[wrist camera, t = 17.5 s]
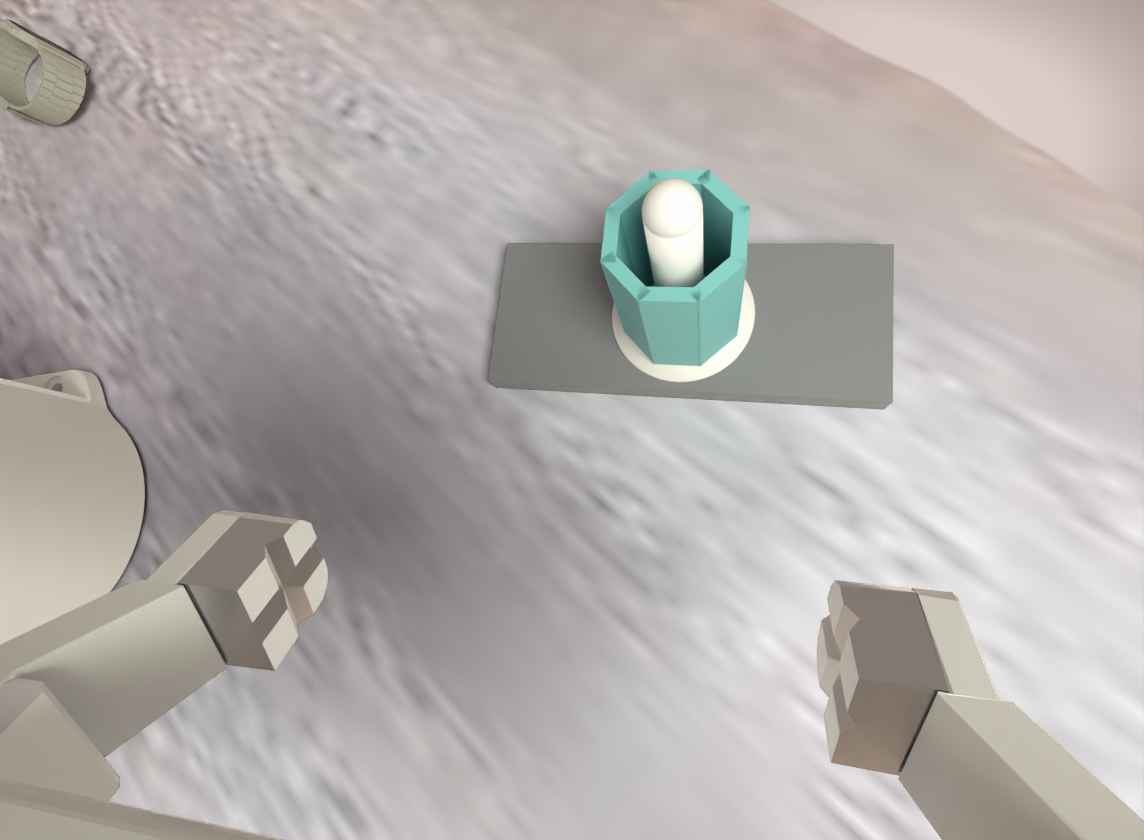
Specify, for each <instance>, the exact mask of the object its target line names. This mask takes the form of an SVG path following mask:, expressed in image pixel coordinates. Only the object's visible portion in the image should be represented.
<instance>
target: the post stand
mask: <svg viewBox="0 0 1144 840" xmlns="http://www.w3.org/2000/svg"><path fill="white" fill-rule="evenodd" d="M642 219H643V225H644V230H645V236H646V241H647V247H648V252H649V258H650V263H651V269H652V274H653V280H654V284H653V285H652V286H651V287H695V286H696V285H697V284H698V283H699V282H701V281H702V280H703V279H704V278H705V277H706V276H705V275H704V270H703V203H702V199H701V196H700V194H699V192H698V191H697V189H696V188H695V187H694V186H693V185H692V184H690V183H689V182H687V181H685V180H682V179H677V178H672V179H666V180H663V181H661V182H659V183H657V184H656V185H654V186H653V187H652V188H651V189H650V190H649V191H648V193H647V194H646V196H645V199H644V201H643V205H642ZM601 252H602V244H554V243H507V249H506V256H505V263H504V270H503V277H502V284H501V291H500V298H499V305H498V312H497V319H496V326H495V333H494V340H493V347H492V354H491V361H490V368H489V375H488V381H489V382H491V383H492V384H493V385H494V386H495V387H496V388H511V389H529V390H547V391H565V392H583V393H601V394H618V395H636V396H654V397H672V398H690V399H708V400H725V401H743V402H761V403H779V404H797V405H815V406H833V407H850V408H868V409H885V408H886V407H887V406H888V405H889V404H891V403H892V402H893V278H894V244H748V245H747V268H746V275H745V283H744V290H743V297H742V305H741V312H740V319H739V327H738V334H737V337H735V338H734V339H733V340H732V341H731V342H729V343H728V344H727V345H726V346H725V347H723V348H722V349H721V350H720V351H719V352H717V353H716V354H715V355H714V356H713V357H711V358H710V359H709V360H708V361H707V362H705V363H704V364H703V365H702V366H701V367H700V366H682V365H659V364H655V365H654V364H653V362H652V361H651V360H650V359H649V358H648V357H647V356H646V355H645V354H644V353H643V352H642V350H641V349H640V348H639V347H638V346H637V345H636V344H635V343H634V342H633V341H632V340H631V339H630V337H629V336H628V335H627V334H626V333H625V332H624V329H623V326H622V323H621V320H620V317H619V315H618V312H617V309H616V306H615V303H614V300H613V297H612V294H611V291H610V289H609V286H608V283H607V280H606V277H605V274H604V271H603V268H602V265H601V263H600V260H601Z"/></svg>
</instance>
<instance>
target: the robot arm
mask: <svg viewBox="0 0 1144 840" xmlns="http://www.w3.org/2000/svg"><path fill="white" fill-rule="evenodd" d="M144 503H145V485H144V476H143V470H142V465H141V461H140V458H139V455H138V452H137V450H136V448H135V446H134V444H133V442H132V440H131V438H130V437H129V435H128V434H127V432H126V431H125V430H124V428H123V427H122V426H121V425H120V424H119V423H118V422H117V421H116V420H115V419H114V417H113V416H112V415H111V413H110V412H109V410H108V409H107V406H106V401H105V398H104V394H103V390H102V387H101V384H100V382H99V380H98V378H97V377H96V376H95V375H94V374H93V373H91V372H85V371H80V370H66V371H60V372H54V373H48V374H42V375H36V376H31V377H25V378H19V379H13V380H7V379H2V378H0V840H283V839H278V838H274V837H269V836H265V835H260V834H256V833H251V832H246V831H242V830H237V829H233V828H228V827H224V826H219V825H215V824H210V823H205V822H201V821H196V820H192V819H187V818H183V817H178V816H174V815H169V814H164V813H160V812H155V811H151V810H146V809H142V808H137V807H133V806H128V805H123V804H119V803H114V802H110V801H109V800H110V799H111V798H112V796H113V795H114V794H115V792H116V791H117V790H118V788H119V787H120V777H119V775H118V774H117V773H116V772H115V770H114V769H113V768H112V767H111V765H110V764H109V763H108V762H107V760H106V759H105V758H104V757H106V756H107V755H109V754H110V753H111V752H113V751H114V750H115V749H117V748H118V747H119V746H121V745H122V744H123V743H125V742H126V741H128V740H129V739H130V738H132V737H133V736H134V735H136V734H137V733H138V732H140V731H141V730H143V729H144V728H145V727H147V726H148V725H149V724H151V723H152V722H153V721H155V720H156V719H158V718H159V717H160V716H162V715H163V714H164V713H166V712H167V711H168V710H170V709H171V708H173V707H174V706H175V705H177V704H178V703H179V702H181V701H182V700H183V699H185V698H186V697H188V696H189V695H190V694H192V693H193V692H194V691H196V690H197V689H198V688H200V687H201V686H202V685H204V684H205V683H207V682H208V681H209V680H211V679H212V678H213V677H215V676H216V675H217V674H219V673H220V672H222V671H223V670H224V669H226V668H227V666H226V665H234V666H242V667H249V668H257V669H264V670H272V671H275V670H276V669H277V667H278V666H279V664H280V663H281V661H282V660H283V659H284V657H285V656H286V654H287V653H288V651H289V650H290V648H291V647H292V645H293V644H294V642H295V641H296V639H297V638H298V636H299V634H298V623H300V622H301V621H303V620H304V619H306V618H308V617H309V616H311V615H312V614H314V612H315V611H316V609H317V608H318V606H319V605H320V603H321V601H322V600H323V597H324V594H325V590H326V587H327V584H328V568H327V565H326V562H325V559H324V557H323V556H322V555H321V554H319V553H318V552H317V551H316V550H315V549H314V548H313V547H312V546H313V544H314V542H315V541H316V539H317V537H316V534H315V532H314V529H313V527H312V525H311V523H309V522H306V521H303V520H298V519H291V518H284V517H277V516H270V515H263V514H256V513H245V512H238V511H231V510H222V511H219V512H216V513H214V514H212V515H211V516H210V517H209V518H208V519H207V520H206V521H205V522H204V523H203V524H202V525H201V526H200V527H199V528H198V529H197V530H196V531H195V532H194V533H193V534H192V535H191V536H190V537H189V538H188V539H187V540H186V541H185V542H184V543H183V544H182V545H181V546H180V547H179V548H178V549H177V550H176V551H175V552H174V553H173V554H172V555H171V556H170V557H169V558H168V559H167V560H166V561H165V562H164V563H163V564H162V565H161V566H160V567H159V568H158V569H157V570H156V571H155V572H154V573H153V574H152V575H150V576H149V577H148V578H147V579H146V580H141V579H137V580H135V581H133V582H130V583H128V584H126V585H124V586H122V587H120V588H118V589H116V590H114V591H112V592H110V591H111V590H112V589H113V587H114V586H115V584H116V583H117V582H118V580H119V578H120V577H121V575H122V573H123V572H124V570H125V568H126V566H127V564H128V562H129V560H130V558H131V556H132V553H133V551H134V548H135V545H136V542H137V540H138V536H139V533H140V529H141V524H142V519H143V513H144ZM827 600H828V606H829V612H830V615H829V616H827V617H826V618H824V619H823V620H822V621H821V626H820V630H819V635H818V645H817V669H818V678H819V685H820V688H821V689H822V690H823V691H824V692H825V694H826V695H827V696H828V697H829V700H828V703H827V707H826V710H825V714H824V721H825V727H826V734H827V741H828V747H829V754H830V761H831V763H836V764H841V765H846V766H851V767H857V768H862V769H867V770H872V771H878V772H883V773H888V774H893V775H899V778H898V779H899V780H900V782H901V783H902V785H903V786H904V787H905V789H906V790H907V792H908V793H909V794H910V796H911V797H912V799H913V800H914V801H915V803H916V804H917V806H918V807H919V808H920V810H921V811H922V812H923V814H924V815H925V817H926V818H927V819H928V821H929V822H930V824H931V825H932V826H933V828H934V829H935V831H936V832H937V833H938V835H939V836H940V838H941V839H942V840H1144V821H1143V820H1142V819H1141V818H1140V817H1139V816H1138V815H1137V814H1136V813H1135V812H1133V811H1132V810H1131V809H1130V808H1129V807H1128V806H1127V805H1126V804H1125V803H1124V802H1122V801H1121V800H1120V799H1119V798H1118V797H1117V796H1116V795H1115V794H1114V793H1112V792H1111V791H1110V790H1109V789H1108V788H1107V787H1106V786H1105V785H1104V784H1103V783H1101V782H1100V781H1099V780H1098V779H1097V778H1096V777H1095V776H1094V775H1093V774H1091V773H1090V772H1089V771H1088V770H1087V769H1086V768H1085V767H1084V766H1083V765H1082V764H1080V763H1079V762H1078V761H1077V760H1076V759H1075V758H1074V757H1073V756H1072V755H1070V754H1069V753H1068V752H1067V751H1066V750H1065V749H1064V748H1063V747H1062V746H1060V745H1059V744H1058V743H1057V742H1056V741H1055V740H1054V739H1053V738H1052V737H1051V736H1049V735H1048V734H1047V733H1046V732H1045V731H1044V730H1043V729H1042V728H1041V727H1039V726H1038V725H1037V724H1036V723H1035V722H1034V721H1033V720H1032V719H1031V718H1030V717H1028V716H1027V715H1026V714H1025V713H1024V712H1023V711H1022V710H1021V709H1020V708H1018V707H1017V706H1016V705H1015V704H1014V703H1012V702H1007V701H1001V700H999V697H998V695H997V692H996V690H995V687H994V685H993V682H992V680H991V678H990V675H989V673H988V670H987V668H986V665H985V663H984V660H983V658H982V655H981V653H980V650H979V648H978V645H977V643H976V641H975V638H974V636H973V633H972V631H971V628H970V626H969V623H968V621H967V618H966V616H965V613H964V611H963V608H962V606H961V604H960V601H959V599H958V598H957V597H956V596H955V595H954V594H953V593H952V592H943V591H933V590H923V589H914V588H912V589H909V588H905V587H895V586H885V585H876V584H866V583H857V582H847V581H837V580H835V581H834V582H833V584H832V585H831V587H830V591H829V595H828V598H827Z"/></svg>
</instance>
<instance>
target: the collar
mask: <svg viewBox="0 0 1144 840" xmlns="http://www.w3.org/2000/svg"><path fill="white" fill-rule="evenodd" d="M672 178H677V179H682V180H685V181H687V182H689V183H690V184H692V185H693V186H694V187H695V188H696V189H697V191H698V192H699V194H700V196H701V199H702V203H703V270H704V275H705V276H706V277H705V278H704V279H703V280H702V281H701V282H699V283H698V284H697V285H696V286H695V287H651V286H652V285H653V284H654V280H653V274H652V269H651V263H650V258H649V252H648V247H647V241H646V236H645V230H644V225H643V219H642V205H643V201H644V199H645V196H646V194H647V193H648V191H649V190H650V189H651V188H652V187H653V186H654V185H656V184H657V183H659V182H661V181H663V180H666V179H672ZM749 215H750V206H748V205H747V204H746V203H745V202H744V201H743V200H742V199H740V198H739V197H738V196H737V195H736V194H735V193H734V192H733V191H732V190H731V189H729V188H728V187H727V186H726V185H725V184H724V183H723V182H722V181H721V180H720V179H718V178H717V177H716V176H715V175H714V174H713V173H712V172H711V171H710V170H709V169H708V170H682V171H649V173H648V174H646V175H645V176H644V177H643V178H642V179H641V180H639V181H638V182H637V183H636V184H635V185H633V186H632V187H631V188H630V189H629V190H627V191H626V192H625V193H624V194H623V195H622V196H620V197H619V198H618V199H617V200H616V201H614V202H613V203H612V204H611V205H610V206H609V207H607V208H606V216H605V225H604V234H603V243H602V252H601V260H600V263H601V265H602V268H603V271H604V274H605V277H606V280H607V283H608V286H609V289H610V291H611V294H612V297H613V300H614V303H615V306H616V309H617V312H618V315H619V317H620V320H621V323H622V326H623V329H624V332H625V333H626V334H627V335H628V336H629V337H630V339H631V340H632V341H633V342H634V343H635V344H636V345H637V346H638V347H639V348H640V349H641V350H642V352H643V353H644V354H645V355H646V356H647V357H648V358H649V359H650V360H651V361H652V362H653V364H654V365H655V364H659V365H682V366H700V367H701V366H702V365H703V364H704V363H705V362H707V361H708V360H709V359H710V358H711V357H713V356H714V355H715V354H716V353H717V352H719V351H720V350H721V349H722V348H723V347H725V346H726V345H727V344H728V343H729V342H731V341H732V340H733V339H734V338H735V337H737V334H738V327H739V319H740V312H741V305H742V297H743V290H744V283H745V275H746V268H747V245H748V228H749Z"/></svg>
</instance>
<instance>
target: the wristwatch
mask: <svg viewBox="0 0 1144 840" xmlns="http://www.w3.org/2000/svg"><path fill="white" fill-rule="evenodd" d="M39 54H40V56H41V60H42V68H43V73H42V81H41V85H40V88H39V90H38V93H37V95H36V96H35V98H34V99H33V100H32V101H31V102H29V101H28V99H27V96H26V91H25V90H26V86H25V84H24V81H25V77H26V72H27V71H28V68H29V66H30V64H31V63H32V61H33V60H34V59H35V58H36V57H37V55H39ZM89 71H90V68H89V67H87V65H86V63H85V62H84V61H82V60H81V59H79V58H78V57H77V56H75V55H74V54H72V53H71V52H69V51H67V50H66V49H64V48H62V47H60V46H58V45H56V44H54V43H53V42H51V41H49V40H47V39H45V38H43V37H41V36H39V35H37V34H36V33H34V32H32V31H30V30H28V29H26V28H24V27H22V26H20V25H19V24H17V23H15V22H13V21H11V20H8V19H6V20H4V21H3V20H1V19H0V106H1V107H2V108H3V109H5V110H7V111H9V112H12V113H14V114H17V115H19V116H21V117H24V118H26V119H28V120H31V121H33V122H36V123H38V124H40V125H45V124H46V123H48V124H51V125H60V124H62V123H65V122H66V121H68V120H69V119H70V118H71V117H72V116H73V115H74V114H75V112H76V111H77V109H78V108H79V106H80V104H81V102H82V100H83V96H84V93H85V88H86V76H85V72H86V73H88V72H89Z"/></svg>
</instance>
